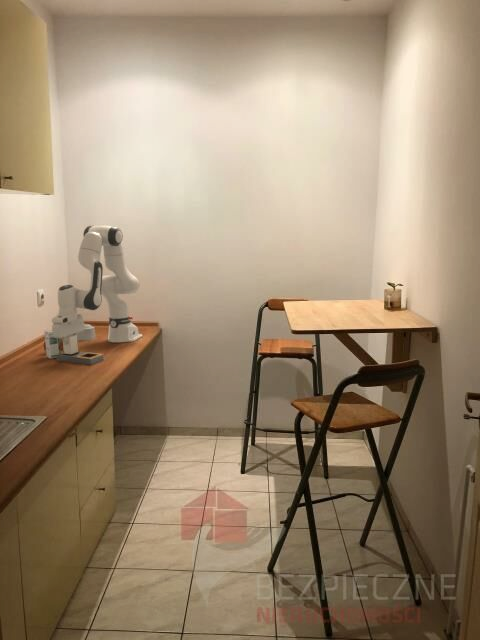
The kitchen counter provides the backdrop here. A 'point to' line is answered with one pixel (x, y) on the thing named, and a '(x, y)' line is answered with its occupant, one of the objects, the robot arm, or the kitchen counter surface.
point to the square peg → (71, 345)
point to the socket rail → (81, 358)
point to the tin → (60, 345)
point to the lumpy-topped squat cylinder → (86, 333)
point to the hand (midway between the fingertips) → (70, 343)
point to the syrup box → (51, 345)
